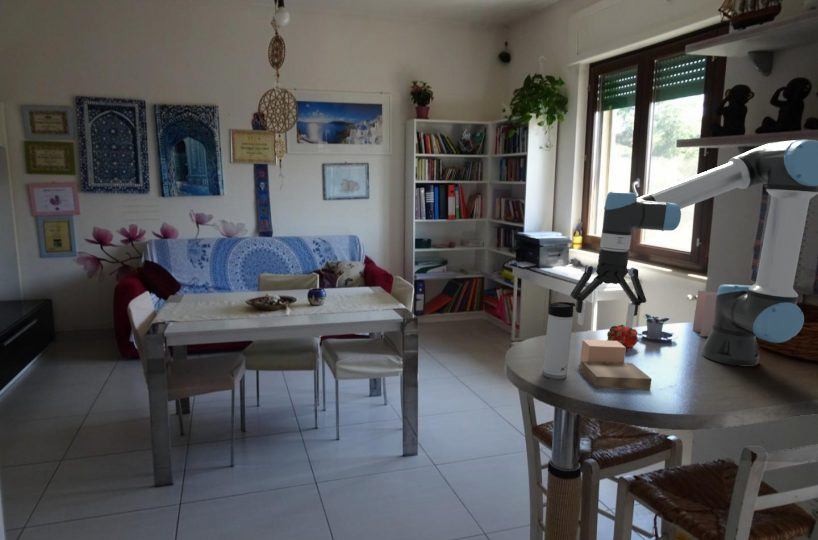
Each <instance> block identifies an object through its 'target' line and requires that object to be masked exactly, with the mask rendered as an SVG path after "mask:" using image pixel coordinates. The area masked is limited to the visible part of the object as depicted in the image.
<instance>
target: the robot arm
mask: <svg viewBox="0 0 818 540" xmlns="http://www.w3.org/2000/svg"><path fill="white" fill-rule="evenodd" d="M760 185H766V187H765V191H766V192H767V193H768V194H769V195H770V201H769V202H770V204H769V208H768V213H767V214H768V215H767V221H766V224H765V231H764V237H763V241H762V247H761V253H760V258H759V263H758V270H757V273H756V274H757V275H756V279H755V280H756V281H755V283H754V284H752V285H746V284H730V283H729V284H720V285H719V287H718V289H717V292H716V293H717V295H716V297H717V298H716V305H715V312H714V319H713V326H712V331H711V333H710V335H709V336H707V338H706V340H705V342H704V344H703V346H702V352H701V355H702V357H705V358H707V359H709V360H711V361H715V362H718V363H721V364H725V365H731V366H736V365H755V364H757V363H758V364H759V362H760V361H759V360H760V354H759V350H758V349H759V347H758V343H757V339H756V338H758V339H760V340H762V341H767V342H770V343H775V344H777V343H778V344H779V343H784V342H787V341H789V340H792V338H793V337H796V336H797V335H798V333H800V331H801V330H802V328H803V326H804V322H805V316H804V312H803V311H802V310H801V308H800V307H799V306H798V305H797V304H798V300H799V299H798V298H799V294H798V293H797V291H796V290H795V289H794V283H795V277H796V272H797V266H798V262H799V257H800V256H799V255H800V251H801V247H802V242H803V235H804V231H805V227H806V220H807V216H808V210H809V205H810V200H811V199H812V198H814V197H815V196H817V195H818V140H815V139H795V140H794V139H793V140H785V141H784V140H783V141H773V142H769V143H766V144H762V145H760V146H758V147H754V148H752V149H750V150H748V151H746V152H744V153H741V154H739V155H736V156H733V157H731V158H729V160H727V163H725V164H722V165H720V166H719V165H718V166H717V167H714V168H711V169H708V170H707V171H704V172H701V173H699V174H696V175H692V176H691V177H689V178H685V179H683V180H680V181H678V182H676V183H673V184H670V185H667V186H665V187H662V188H660V189H657V190H655V191H652V192H650V193H647V194H644V195H641V196H639V197H637V194H636V193H635V192H625V191H610V192H608V193H607V195H606V199H605V204H604V206H603V207H604V208H603V210H604V211H603V219H602V220H603V221H602V229H601V230H602V231H601V236H600V244H599V246H600V249H599V253H598V260H597V266H592V265H589V264H587V265H585V269H584V272H583V274H582V275H581V277H580V278H579V279H578V282H577V283H576V284H575V286H574V288H573V290H572V291H571V292H570V295H569V296H570V298H572V299H574V300H576V303H575V305H576V307H575V311H576V312H577V314H578V315H577V322H576V323H577V324H578V325H579V326H584V322H585V313H586V305H587V302H586V301H585V300H586V298H588V297H589V296H590V295H591V294H592V293H593V292H594V291H595V290H596V289H597V288H598V287H599V286H601V285H602V284H606V285H607V284H608V285H609V284H614V285H618V284H619V285H620V287H621V289H622V290H623V291H624V292H625V294H626V296H627V297H628V298H629V300H630V302H628V303H627V304H628V305H627V310H626V311H627V313H626V318H625V319H626V321H625V327H626V326H627V327H629V328H632V329H633V325H634V317H637V315H638V310H639V306H641V304H646V302H647V298H646V295H645V292H644V289H643V287H642V284H641V281H640V278H639V270H638V268H635V267H631V268H628V262H629V254H630V253H629V251H628V250H630V248H631V247H630V246H631V240H632V234H633V229H635V230H638V229H639V230H651V231H653V230H654V231H662V232H664V231H674V230H676V229H677V228H678V227H679V225H680V223H681V219H682V218H681V217H682V211H681V209H684V208H687V207H689V206H692V205H695V204H698V203H701V202H702V201H706V200H709V199H711V198H714V197H717V196H719V195H723V194H724V193H727V192H729V191H731V190H734V189H737V188H738V189H740V190H745V189H747V188H750V187H754V186H760ZM595 272H596V276H595V277H594V278H593V280H592V281H591V282H590V283H589V284H587V283H588V282H589V280H590V279H591V277H592V275H594V273H595ZM626 276H629V278H630V280H631V282H632V285H633V289H634V291H635V293H634V291H633V290H632V288H631V287H630V285H629V284H628V282H627V281H626V279H625V277H626ZM635 294H636V295H635Z"/></svg>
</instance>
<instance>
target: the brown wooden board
mask: <svg viewBox="0 0 818 540" xmlns="http://www.w3.org/2000/svg"><path fill="white" fill-rule="evenodd" d="M579 367H580V370H579V372H580V371H581V372H582V373H581V372H580V373H581V374H582V375H583V376H584V377H585V378H586V379H587V380H588V382H589V383H590V384H591V385H592V386H593V387H594V388H595V389H615V390H639V391H640V390H641V391H651V388H652V386H651V385H652V378H651V377H650V376H649V375H647V374H646V373H645V372H644V371H642V370H641V369H640V368H639V367H638V366H636V365H635V364H634V363H633V362H624V363H623V362H598V361H581V364H580V366H579Z"/></svg>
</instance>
